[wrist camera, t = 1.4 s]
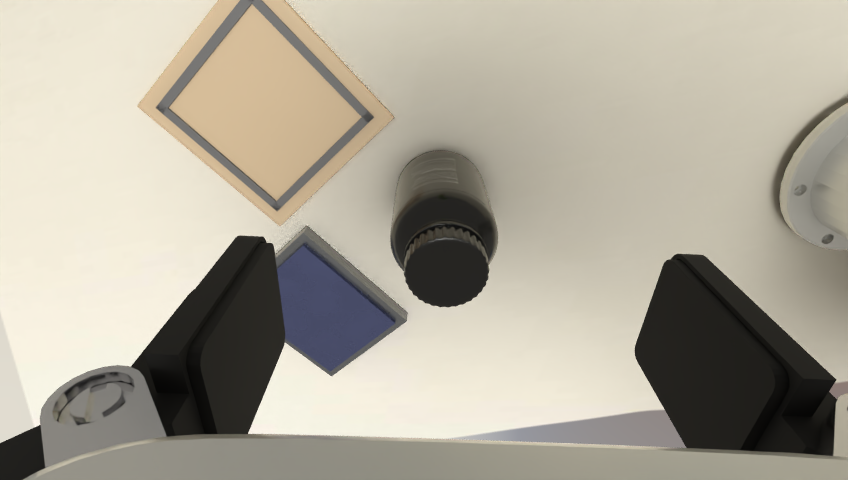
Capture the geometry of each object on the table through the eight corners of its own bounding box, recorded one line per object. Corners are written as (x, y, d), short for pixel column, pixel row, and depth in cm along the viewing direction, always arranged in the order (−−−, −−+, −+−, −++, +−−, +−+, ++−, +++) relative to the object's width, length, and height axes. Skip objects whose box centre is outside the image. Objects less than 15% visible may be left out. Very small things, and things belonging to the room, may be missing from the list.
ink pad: (407, 312, 41) (406, 323, 40) (333, 367, 44) (330, 379, 43) (306, 225, 37) (301, 234, 36) (233, 292, 40) (226, 303, 39)
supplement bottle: (385, 211, 36) (366, 300, 26) (415, 134, 33) (409, 198, 23) (462, 240, 38) (475, 335, 27) (499, 167, 35) (530, 243, 24)
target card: (394, 116, 33) (393, 118, 32) (280, 224, 37) (278, 227, 37) (249, -38, 28) (246, -39, 28) (139, 105, 33) (135, 106, 32)
